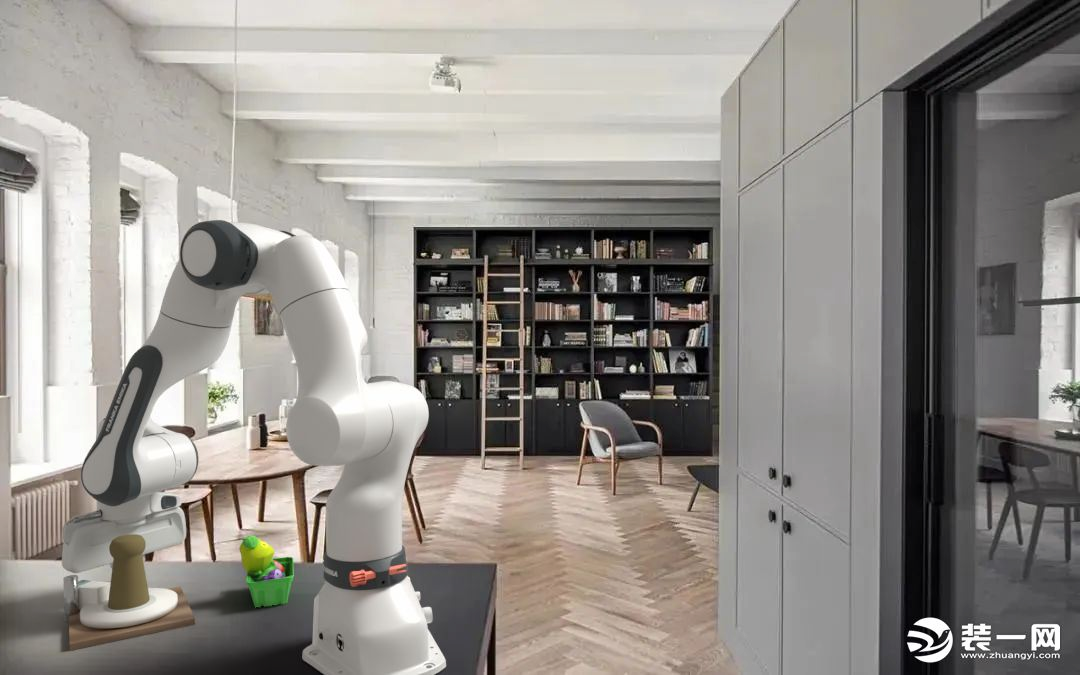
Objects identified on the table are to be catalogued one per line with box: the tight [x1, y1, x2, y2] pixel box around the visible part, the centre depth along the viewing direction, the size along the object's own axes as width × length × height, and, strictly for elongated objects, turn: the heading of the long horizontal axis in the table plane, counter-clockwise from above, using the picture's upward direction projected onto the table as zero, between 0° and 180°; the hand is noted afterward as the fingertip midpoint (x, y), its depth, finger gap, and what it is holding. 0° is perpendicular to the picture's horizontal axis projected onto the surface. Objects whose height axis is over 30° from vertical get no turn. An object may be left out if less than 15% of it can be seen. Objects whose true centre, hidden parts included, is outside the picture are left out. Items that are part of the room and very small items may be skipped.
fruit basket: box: [239, 535, 295, 609], centre depth 131 cm, size 11×9×11 cm
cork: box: [108, 534, 150, 610], centre depth 122 cm, size 6×6×11 cm
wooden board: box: [68, 585, 196, 652], centre depth 123 cm, size 17×17×1 cm
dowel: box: [62, 574, 79, 623], centre depth 122 cm, size 2×2×7 cm
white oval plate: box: [78, 579, 178, 629], centre depth 123 cm, size 18×14×4 cm
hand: (128, 582), depth 131 cm, fingers closed
